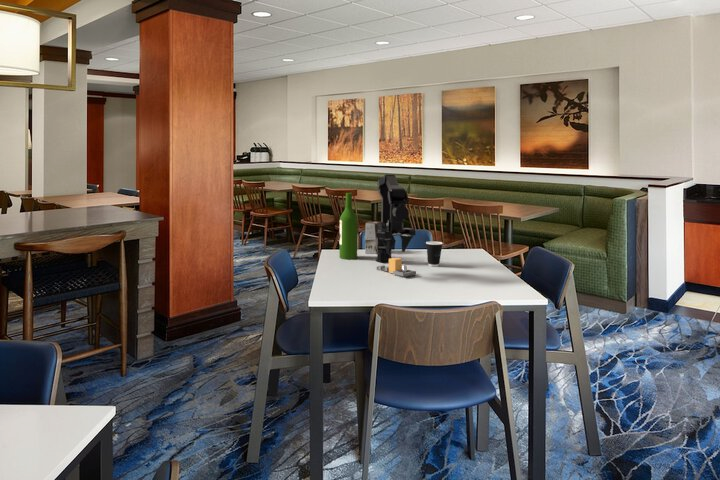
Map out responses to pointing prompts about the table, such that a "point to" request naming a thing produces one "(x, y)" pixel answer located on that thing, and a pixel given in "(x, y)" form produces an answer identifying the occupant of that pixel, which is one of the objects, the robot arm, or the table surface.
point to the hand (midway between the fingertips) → (395, 252)
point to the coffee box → (371, 237)
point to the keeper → (404, 270)
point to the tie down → (396, 267)
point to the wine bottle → (348, 231)
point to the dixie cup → (434, 253)
